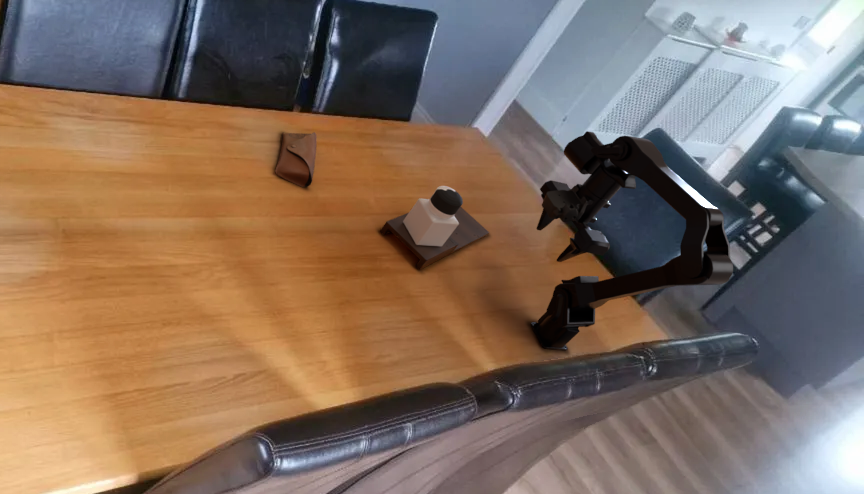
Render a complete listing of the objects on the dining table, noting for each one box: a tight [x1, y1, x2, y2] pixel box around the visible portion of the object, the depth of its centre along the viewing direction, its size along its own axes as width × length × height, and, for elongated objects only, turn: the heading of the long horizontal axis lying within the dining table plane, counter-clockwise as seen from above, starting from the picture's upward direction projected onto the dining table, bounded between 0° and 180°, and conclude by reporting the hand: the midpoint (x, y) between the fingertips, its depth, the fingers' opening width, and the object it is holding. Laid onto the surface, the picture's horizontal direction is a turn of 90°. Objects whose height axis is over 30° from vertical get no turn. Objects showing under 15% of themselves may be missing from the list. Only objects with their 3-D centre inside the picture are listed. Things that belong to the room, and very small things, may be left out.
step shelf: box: [379, 206, 490, 270], centre depth 158 cm, size 30×12×3 cm, turn 135°
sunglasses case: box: [274, 131, 318, 188], centre depth 158 cm, size 18×7×7 cm, turn 174°
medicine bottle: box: [403, 185, 464, 246], centre depth 147 cm, size 7×7×12 cm
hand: (548, 245), depth 147 cm, fingers open, 9 cm apart
